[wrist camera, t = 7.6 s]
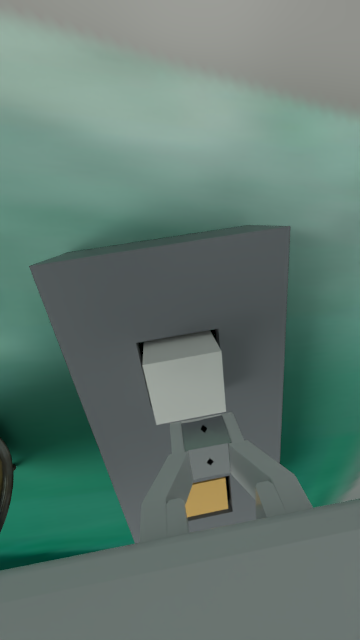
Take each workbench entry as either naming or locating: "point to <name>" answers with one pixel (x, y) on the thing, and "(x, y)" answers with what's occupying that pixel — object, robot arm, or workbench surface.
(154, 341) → the white key
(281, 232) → the control box
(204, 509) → the orange key
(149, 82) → the workbench surface
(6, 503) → the alarm clock
